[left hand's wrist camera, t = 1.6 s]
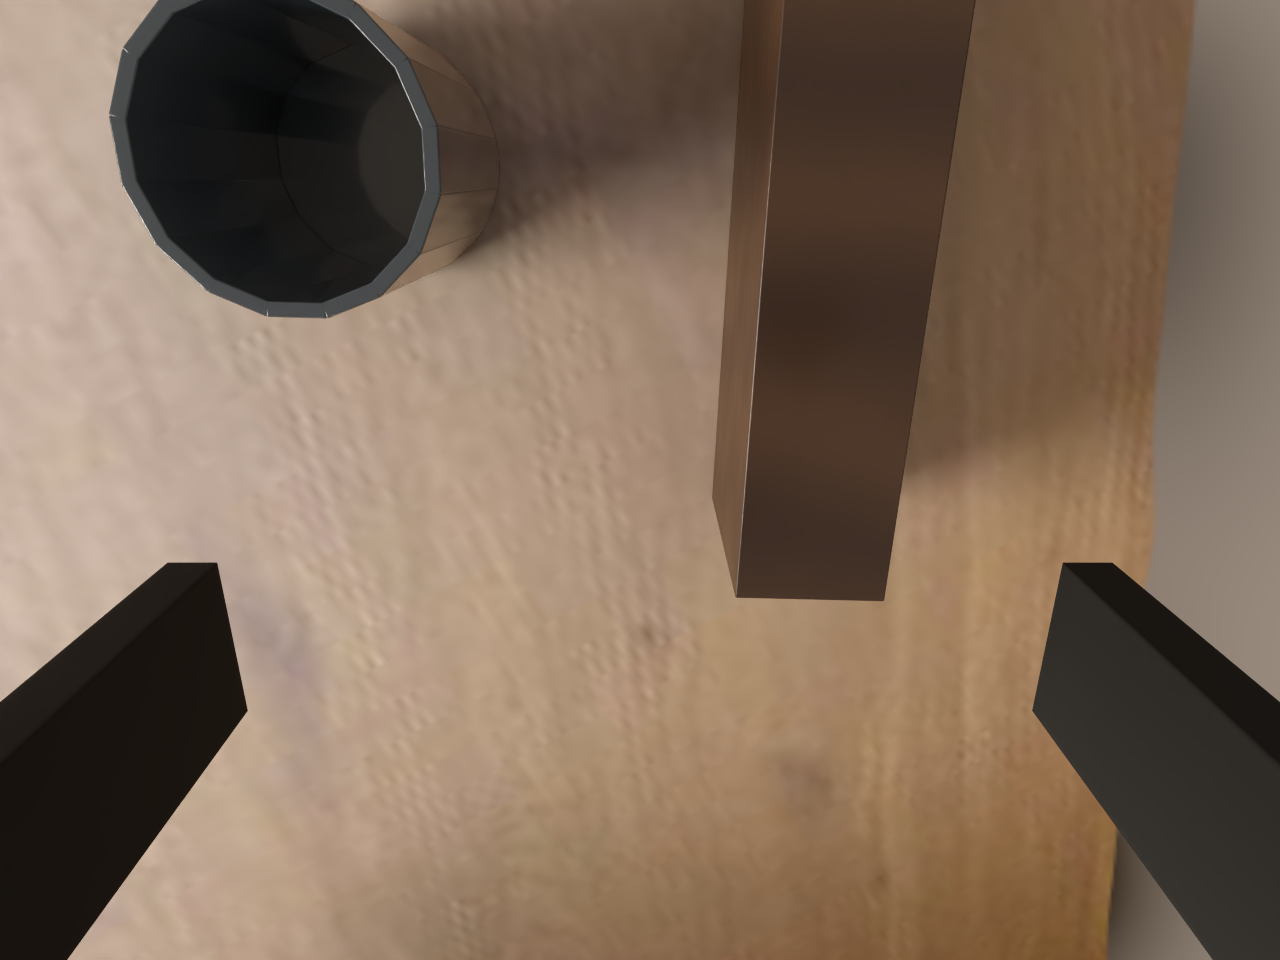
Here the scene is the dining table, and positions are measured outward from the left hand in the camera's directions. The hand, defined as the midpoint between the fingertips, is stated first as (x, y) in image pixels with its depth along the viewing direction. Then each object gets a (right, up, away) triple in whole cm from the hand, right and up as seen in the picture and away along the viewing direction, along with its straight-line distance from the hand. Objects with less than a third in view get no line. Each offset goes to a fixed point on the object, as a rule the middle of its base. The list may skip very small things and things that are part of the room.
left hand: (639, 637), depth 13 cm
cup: (-9, +13, +15) cm, 22 cm away
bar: (+6, +14, +15) cm, 21 cm away
